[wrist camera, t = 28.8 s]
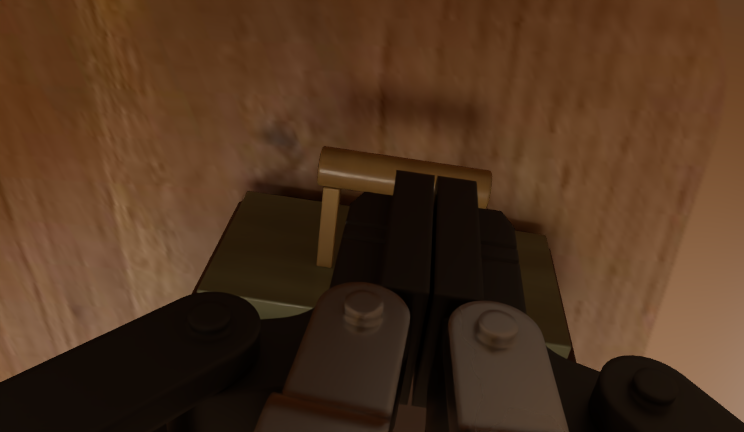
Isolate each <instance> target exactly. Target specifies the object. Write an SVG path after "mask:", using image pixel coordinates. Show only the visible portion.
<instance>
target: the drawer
mask: <svg viewBox="0 0 744 432" xmlns="http://www.w3.org/2000/svg"><path fill="white" fill-rule="evenodd" d="M396 170H402V171H409V172H416V173H422V174H429V175H435V183H434V189H435V184H436V179H437V176H444V177H451V178H458V179H465V180H472V181H476V182H477V193H478V208H483V209H486V207H487V205H488V202H489V198H490V193H491V186H492V173H491V171H489V170H483V169H476V168H469V167H462V166H455V165H449V164H442V163H435V162H428V161H422V160H415V159H408V158H401V157H394V156H388V155H381V154H374V153H367V152H361V151H354V150H347V149H340V148H333V147H327V146H324V147H323V148H322V151H321V154H320V159H319V166H318V175H317V183H318V185H320V186H324V187H323V197H322V202H319V201H312V200H306V199H299V198H292V197H286V196H279V195H272V194H265V193H259V192H252V191H247V193H246V195H245V197H244V199H243V201H242V203H241V205H240V207H239V209H238V211H237V213H236V215H235V217H234V219H233V221H232V223H231V225H230V226H229V228H228V230H227V232H226V234H225V236H224V238H223V240H222V242H221V244H220V246H219V248H218V250H217V252H216V254H215V256H214V258H213V260H212V262H211V264H210V266H209V268H208V270H207V271H206V273H205V275H204V277H203V279H202V281H201V283H200V285H199V287H198V289H197V293H200V292H213V291H215V292H225V293H230V294H233V295H236V296H239V297H241V298H243V299H245V300H246V301H248V302H249V303H251V304H252V305H253V306H254V307H255V309H256V310H257V312H258V313H259V316H260V319H271V318H282V317H290V316H294V315H298V314H301V313H304V312H306V311H308V310H310V309H312V308H314V307H315V305H316V302H317V301H318V299H319V297H320V296H321V295H322V294H323V293H324V292H325V291H327V290H328V289H329V288H330V284H331V280H332V275H333V271H334V267H335V263H336V259H337V255H338V251H339V247H340V243H341V239H342V235H343V231H344V227H345V224H346V219H347V215H348V211H349V207H350V206H346V205H339V204H340V195H341V189H347V190H354V191H361V192H372V193H379V194H385V195H392V196H393V191H394V184H395V177H396ZM515 235H516V242H517V250H518V256H519V264H520V270H521V277H522V284H523V291H524V299H525V306H526V313H527V315H528V316H529V317H530V318H531V319H532V320H533V321H534V322H535V323H536V324H537V325H538V327H539V328H540V330H541V332H542V335H543V338H544V341H545V345H546V346H547V347H548V348H549V349H551V350H552V351H554V352H555V353H557V354H558V355H560V356H562V357H564V358H566V359H567V358H568V355H569V353H570V350H571V343H570V339H569V335H568V330H567V326H566V321H565V317H564V313H563V308H562V304H561V300H560V295H559V291H558V286H557V282H556V278H555V273H554V269H553V265H552V260H551V256H550V251H549V247H548V243H547V238H546V236H545V235H540V234H534V233H527V232H520V231H515Z"/></svg>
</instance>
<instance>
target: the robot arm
mask: <svg viewBox="0 0 744 432" xmlns="http://www.w3.org/2000/svg"><path fill="white" fill-rule="evenodd" d="M434 183H435V175H429V174H422V173H416V172H409V171H402V170H396V177H395V184H394V191H393V196H392V195H385V194H379V193H372V192H364V193H362V194H361V195H360V196H359V197H358V198H357V199H356V200H354V201H353V202H352V203H351V204H350V207H349V211H348V215H347V219H346V224H345V227H344V231H343V235H342V239H341V243H340V247H339V251H338V255H337V259H336V263H335V267H334V271H333V275H332V280H331V284H330V288H329V289H328V290H327V291H325V292H324V293H323V294H322V295H321V296H320V297H319V299H318V301H317V302H316V305H315V307H314V308H312V309H310V310H308V311H306V312H304V313H301V314H298V315H294V316H290V317H282V318H271V319H260V316H259V313H258V312H257V310H256V309H255V307H254V306H253V305H252V304H251V303H249V302H248V301H246V300H245V299H243V298H241V297H239V296H236V295H233V294H230V293H225V292H215V291H213V292H200V293H195V294H191V295H188V296H185V297H183V298H180V299H178V300H176V301H174V302H172V303H170V304H167V305H165V306H163V307H161V308H159V309H157V310H155V311H152V312H150V313H148V314H146V315H144V316H142V317H140V318H137V319H135V320H133V321H131V322H129V323H127V324H125V325H122V326H120V327H118V328H116V329H114V330H112V331H110V332H107V333H105V334H103V335H101V336H99V337H97V338H94V339H92V340H90V341H88V342H86V343H84V344H82V345H79V346H77V347H75V348H73V349H71V350H69V351H67V352H64V353H62V354H60V355H58V356H56V357H54V358H52V359H49V360H47V361H45V362H43V363H41V364H39V365H37V366H34V367H32V368H30V369H28V370H26V371H24V372H22V373H19V374H17V375H15V376H13V377H11V378H9V379H7V380H4V381H2V382H0V432H393V430H394V427H395V423H396V417H397V412H398V407H399V404H401V405H407V404H408V399H409V394H410V389H411V384H412V379H413V389H412V404H411V406H416V407H422V408H426V425H425V429H424V432H744V423H743V422H742V421H741V420H739V419H738V418H737V417H736V416H734V415H733V414H732V413H730V412H729V411H728V410H727V409H725V408H724V407H723V406H721V405H720V404H719V403H718V402H717V401H715V400H714V399H713V398H711V397H710V396H709V395H708V394H706V393H705V392H704V391H702V390H701V389H700V388H698V387H697V386H696V385H695V384H693V383H692V382H691V381H690V380H689V379H687V378H686V377H685V376H684V375H682V374H681V373H679V372H678V371H677V370H675V369H673V368H671V367H670V366H668V365H666V364H664V363H661V362H659V361H656V360H653V359H651V358H646V357H642V356H633V355H632V356H620V357H616V358H613V359H611V360H610V361H608V362H607V363H606V364H605V365H604V366H603V368H602V370H601V372H599V371H596V370H594V369H591V368H589V367H586V366H583V365H581V364H578V363H576V362H573V361H571V360H568V359H566V358H564V357H562V356H560V355H558V354H557V353H555V352H554V351H552V350H551V349H549V348H548V347H547V346H546V345H545V341H544V338H543V335H542V332H541V330H540V328H539V327H538V325H537V324H536V323H535V322H534V321H533V320H532V319H531V318H530V317H529V316H528V315H527V313H526V306H525V299H524V291H523V284H522V277H521V270H520V264H519V256H518V250H517V242H516V235H515V228H514V227H513V226H512V224H511V223H510V222H509V221H508V219H507V218H506V217H505V216H504V214H503V213H502V212H501V211H496V210H490V209H483V208H478V193H477V182H476V181H472V180H465V179H458V178H451V177H444V176H437V179H436V184H435V189H434Z"/></svg>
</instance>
